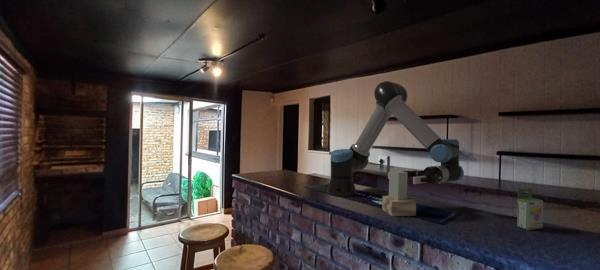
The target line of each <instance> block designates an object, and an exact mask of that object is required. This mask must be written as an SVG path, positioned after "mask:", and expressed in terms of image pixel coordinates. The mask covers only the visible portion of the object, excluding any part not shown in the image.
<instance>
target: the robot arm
mask: <svg viewBox="0 0 600 270" xmlns="http://www.w3.org/2000/svg"><path fill="white" fill-rule="evenodd" d="M407 91H408V90H407V89H406V88H405V87H404V86H403V85H401V84H399V83H395V82H392V81H391V80H390V81H388V80H384V81H381V82H380V83H378V84H377V85H376V86H375V89H374V93H373V94H374V95H373V96H374V98H375V100H376V101H375V104H376V105H375V106H376V108H375V109H374V111H373V112H372V114H371V116H370V117H369V119H368V121H367V123H366V125H365V126H364V129H363V130H362V131H361V133H360V135H359V137H358V139H357V141H356V142H355V143H353V144H350V145H351V146H350V147H349V148H341V149H335V150H332V151H331V154H330V179H329V183H328V187H327V189H326V190H327V191H326V192H327V194H328V195H330V196H334V197H353V196H355V195H357V193H356V192H357V189H356V186H355V183H354V180H353V177H354V176H353V173H355V172H360V171H363V169H365V168H367V166H368V164H369V160H370V159H369V158H370V151H371V149H372V148H373V145H374V143H375V142H376V140H377V139H378V137H379V136H380V134H381V132H382V131H383V129H384V127H385V125H386V124H387V122H388V120H389V119H390V117H391V116H392V115H393V116H394V117H395V119H397V120H398V122H399V123H401V125H403V127H404V128H406V130H407V131H408V132H410V134H411V135H412V136H413V137H414V138H415V139H416V140H417V142H419V144H421V146H423V147H424V148H425V149H426V150H427V151H428V153H429V156H430V158H431V159H432V160H433V162H436V163H440V165H434V166H432V165H431V166H426V167H425V168H423V170H402V171H403V172H407V179H408V178H410V179H412V184H413V185H419V184H433V185H434V184H442V183H449V182H450V183H451V182H457V181H459V180H461V179H463V177H464V175H465V171H464V169H463V167H462V166H461V165H460V142H459V141H460V140H458V139H457V138H456V139H455V138H454V139H453V138H452V139H451V138H450V139H449V138H444V139H443V138H441V137H440V136H439V135H438V134H437V133H436V132H435V131H434V129H432V128H431V127H430V126H429V125H428V124H427V123H426V122H425V121H424V120H423V119H422V118H421V117H420V116H419V115H418V114H417V113H416V112H415V111H414V110H413V109H412V108H411V107H410V106H409V105H408V104H407V103H406V102H407V100H408V92H407ZM387 179H388V180H389V172H387Z"/></svg>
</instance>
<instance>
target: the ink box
mask: <svg viewBox="0 0 600 270" xmlns="http://www.w3.org/2000/svg"><path fill="white" fill-rule="evenodd" d="M524 192H527V193H524ZM523 193H524V194H523ZM532 193H533V188H531V187H529V188H527V187H526V188H518V189H517V210H516V211H517V213H516V214H517V215H516V216H517V217H516V226H517V227H518V228H521V229H523V230H525V229H526V230H527V231H532V230H540V229H543V228H544V200H543V199H538V198H533V195H532ZM526 230H525V231H526Z"/></svg>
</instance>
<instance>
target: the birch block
mask: <svg viewBox="0 0 600 270" xmlns="http://www.w3.org/2000/svg"><path fill="white" fill-rule="evenodd" d="M381 197H382V198H381V200H382V205H381V206H382V207H381V210H382V211H384V212H385V213H387V214H388V215H390V216H391V217H410V216H412V217H415V216H417V201H416V200H415V199H412V198H411V197H408V196H407V199H403V200H396V199H392V198H389V195H382V196H381Z"/></svg>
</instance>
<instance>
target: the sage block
mask: <svg viewBox="0 0 600 270" xmlns="http://www.w3.org/2000/svg"><path fill="white" fill-rule="evenodd" d="M403 171H404V170H389V172H388V173H389V179H388V196H389V198H392V199H396V200H403V199H407V197H408V178H407V172H403Z"/></svg>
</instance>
